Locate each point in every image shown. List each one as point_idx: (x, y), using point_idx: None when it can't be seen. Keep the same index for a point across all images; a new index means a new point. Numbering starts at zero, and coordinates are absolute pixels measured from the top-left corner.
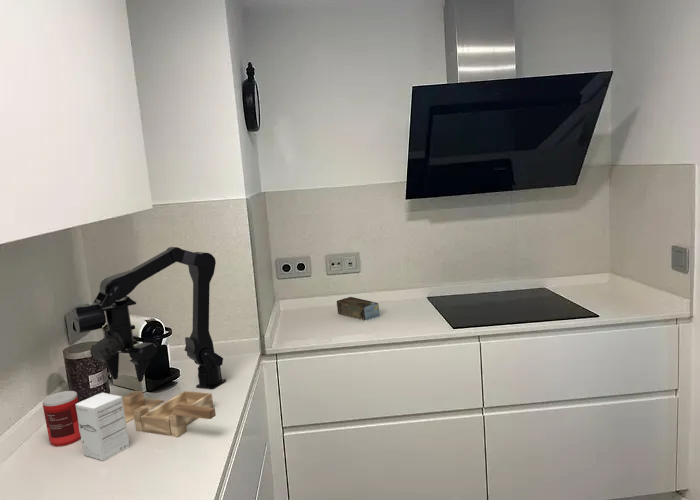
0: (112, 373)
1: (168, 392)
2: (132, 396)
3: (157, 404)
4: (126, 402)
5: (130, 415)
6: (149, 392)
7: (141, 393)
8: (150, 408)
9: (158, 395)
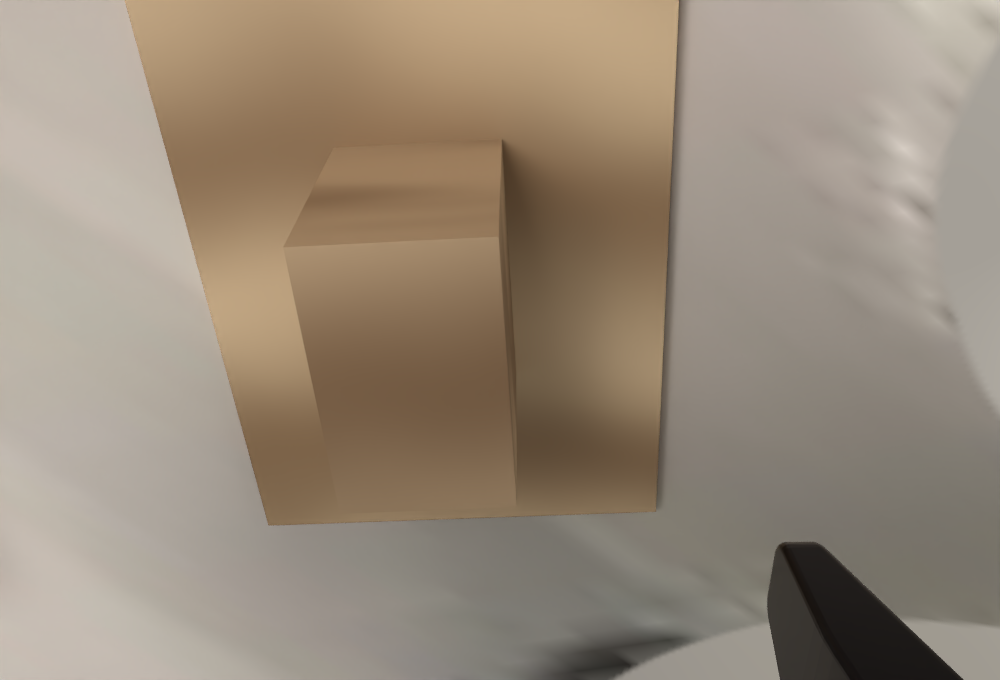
0: (844, 673)
1: (446, 667)
2: (323, 338)
3: (248, 436)
4: (374, 209)
5: (259, 76)
6: (678, 633)
7: (336, 472)
8: (220, 334)
9: (495, 603)
